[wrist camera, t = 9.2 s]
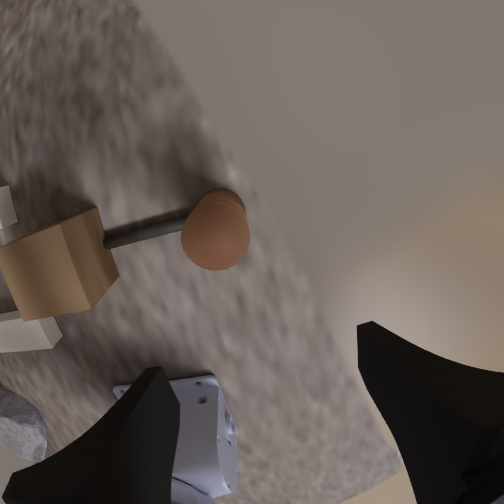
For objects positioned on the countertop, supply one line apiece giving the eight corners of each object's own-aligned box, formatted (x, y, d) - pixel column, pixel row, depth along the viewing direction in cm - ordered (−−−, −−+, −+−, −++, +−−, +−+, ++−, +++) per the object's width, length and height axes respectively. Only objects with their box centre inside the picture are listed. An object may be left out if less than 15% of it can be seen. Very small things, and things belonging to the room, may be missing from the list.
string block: (235, 168, 18) (235, 173, 13) (253, 244, 20) (260, 282, 14) (34, 229, 18) (-15, 255, 13) (56, 290, 20) (16, 329, 14)
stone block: (48, 397, 26) (-21, 370, 22) (40, 429, 22) (-34, 398, 18) (56, 443, 30) (-3, 422, 26) (52, 470, 25) (-11, 446, 22)
